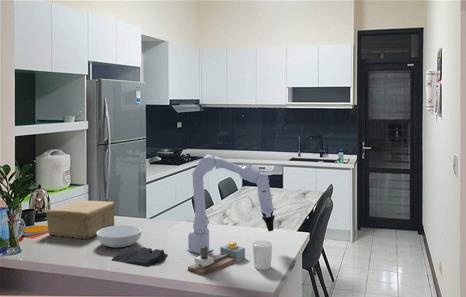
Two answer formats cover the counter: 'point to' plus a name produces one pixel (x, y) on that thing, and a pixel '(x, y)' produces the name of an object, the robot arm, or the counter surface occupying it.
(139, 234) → the serving bowl
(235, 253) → the cabinet
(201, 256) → the carriage
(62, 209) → the paper package
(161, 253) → the dark grey folded cloth
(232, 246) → the button
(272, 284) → the counter surface
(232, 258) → the rail board
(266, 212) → the robot arm
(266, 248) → the white cup
